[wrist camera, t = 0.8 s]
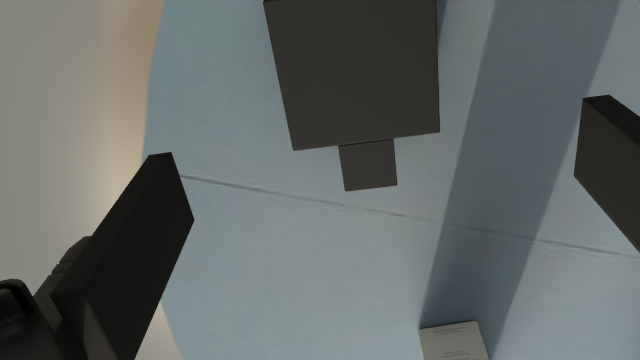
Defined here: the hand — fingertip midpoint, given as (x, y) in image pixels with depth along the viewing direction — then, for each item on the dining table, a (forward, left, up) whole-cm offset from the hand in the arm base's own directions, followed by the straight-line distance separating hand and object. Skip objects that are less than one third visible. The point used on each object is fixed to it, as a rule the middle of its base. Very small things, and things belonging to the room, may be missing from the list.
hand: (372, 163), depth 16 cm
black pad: (+2, 0, -14) cm, 14 cm away
